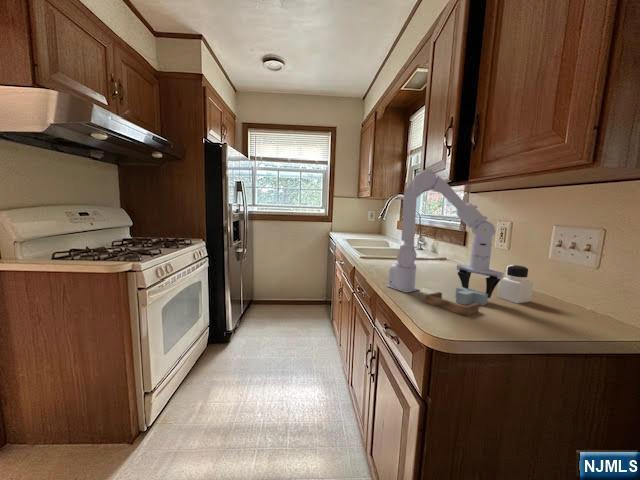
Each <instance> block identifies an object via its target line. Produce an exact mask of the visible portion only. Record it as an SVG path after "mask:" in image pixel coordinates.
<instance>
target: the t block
mask: <svg viewBox="0 0 640 480" xmlns="http://www.w3.org/2000/svg"><path fill="white" fill-rule="evenodd" d="M455 299H456V300H455V303H456V304H459V305H462V306H467V305H470V304H473V303H477V304H479V306H485V305H487V304H488V299H489V298H488V294H487V293H486V292H482V291H479V290H475V289H470V288H468V289H467V288H464V287H462V286H457V287H456V289H455Z"/></svg>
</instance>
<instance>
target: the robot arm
mask: <svg viewBox="0 0 640 480" xmlns="http://www.w3.org/2000/svg"><path fill="white" fill-rule="evenodd" d="M431 189H432V192H435V193H439V194H441V195H442V196H443V197H444V198H445V199H446V200H447V201H448V202H449V203H450V204H451V205H453V207H454V208H456V215H457V217H458V218H459V219H460V220H461V221H462V222H463V223H464V224H465V225H466V226H467V227H468V228H469V229H471V232H472V233H473V239H472V242H471V243H472V244H471V252H470V259H469V265H466V264H461V263H460V264H459V263H458V264H456V270H457V271H458V272H457V276H458V277H459V280H460V283H461V287H464V288H467V289H469V286H470V285H469V284H470V279H471V275H472V274H477V275H481V276H485V281H486V286H485V287H486V288H485V289H486V291H485V293H487V294H488V298H487V299H491V297H492V295H493V292H494V290H495V288H496V287H497V285H499V281H500V280H501V279H503V278H504V276H505V275H504V274H505V273H504V272H501V271H498V270H493V269H491V268H490V262H491V254H492V245H493V244H492V241H493V236H494V235H495V234H496V230H495V225H494V224H493V223H492V222H490V221H488V220H487V219H488V217H487V216H486V215H483V214H482V213H481V212H480V211H479V210H478V209H477V208H478V206H477V205H476V204H472V203H471V202H465V201H464V200H463V199H462V198H461V197H460V196H459V195H458V194H457V192H455V190H454V189H453V188H452V187H451V186H450V185H449V184H448V183H447V182H446V181H445V179H443V178H442V177H440V176H439V175H436V173H435V171H433V170H432V169H423V170H421V171H420V172H419V173H417V174H416V175H414V177H413V178H412V180H411V182H410V183H409V184H408V185H407V187H406V189H405V190H404V191H403V202H402V203H403V205H402V220H401V223H402V224H401V238H400V239H401V241H400V246H399V248H400V249H399V251H398V253H397V255H396V260H397V262H395V263H393V264H391V266H390V267H389V271H388V283H387V284H386V287H388V288H391V289H394V290H397V291H400V292H403V293H407V294H408V293H411V292H414V291H415V292H416V291H419V290H420V288H419V287H417V286H416V277H417V275H416V274H417V264H415V261H416V259H417V252H416V249H415V235H416V234H415V232H416V217H417V216H416V215H417V214H416V213H417V212H416V211H417V200H418V198H419V197H420V196H421V195H423V193H425V192H427V191H429V190H431Z"/></svg>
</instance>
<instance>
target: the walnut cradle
mask: <svg viewBox="0 0 640 480" xmlns="http://www.w3.org/2000/svg"><path fill="white" fill-rule="evenodd" d="M442 297H443V293H442V292H440V291H438V292H437V291H436V292H433V293H429V294H426V295H425V303H427V304H429V305H432V306H435V307H439V308H441V309H443V310H447V311H450V312H452V313H456V314H459V315H461V316H464V317H468V316H471V315H473V314H475V313H479V309H480V308H479V307H480V305H479V304H477V303H470V304H467V305H463V304H460V303H457V302H454V301H449V300H446V299H443V298H442Z"/></svg>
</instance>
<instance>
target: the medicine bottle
mask: <svg viewBox="0 0 640 480" xmlns="http://www.w3.org/2000/svg"><path fill="white" fill-rule="evenodd" d="M505 272H506V273H505V276H506V277H503V279H501V280H500V281H499V282H498V287H497V295H496V296H497V298H498V299H502V300H505V301H508V302H511V303H514V304H524V303H529V302H532V301H531V300H532V295H533V294H532V293H533V286H534V282H533V281H531V280H528V274H529V269H528V268H527V267H526V266H523V265H517V264H510V265H507V266H506V271H505Z"/></svg>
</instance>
